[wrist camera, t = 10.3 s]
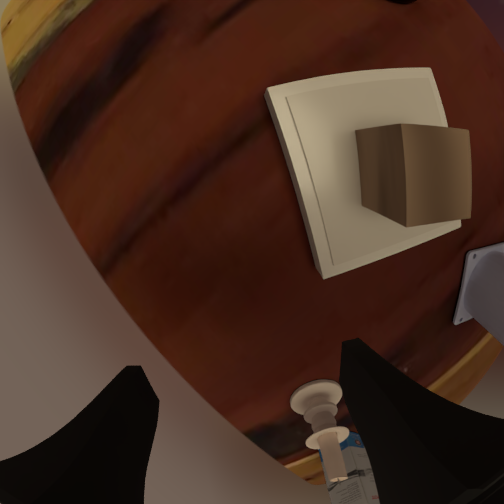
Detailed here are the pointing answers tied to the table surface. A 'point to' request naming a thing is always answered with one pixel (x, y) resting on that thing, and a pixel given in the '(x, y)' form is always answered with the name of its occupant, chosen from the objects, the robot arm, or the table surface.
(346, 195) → the plate
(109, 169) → the table surface
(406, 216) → the block
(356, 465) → the ink box
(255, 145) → the table surface
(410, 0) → the supplement bottle
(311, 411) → the candle
